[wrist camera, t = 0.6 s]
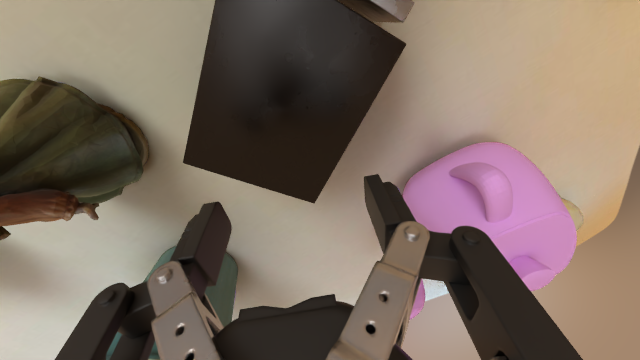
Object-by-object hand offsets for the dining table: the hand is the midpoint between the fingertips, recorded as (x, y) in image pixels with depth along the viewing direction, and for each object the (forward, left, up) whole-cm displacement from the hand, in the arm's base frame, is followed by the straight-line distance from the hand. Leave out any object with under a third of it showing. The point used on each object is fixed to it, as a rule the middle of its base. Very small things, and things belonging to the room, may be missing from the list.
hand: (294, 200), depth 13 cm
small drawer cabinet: (-2, +2, -16) cm, 16 cm away
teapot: (+26, +1, -16) cm, 31 cm away
